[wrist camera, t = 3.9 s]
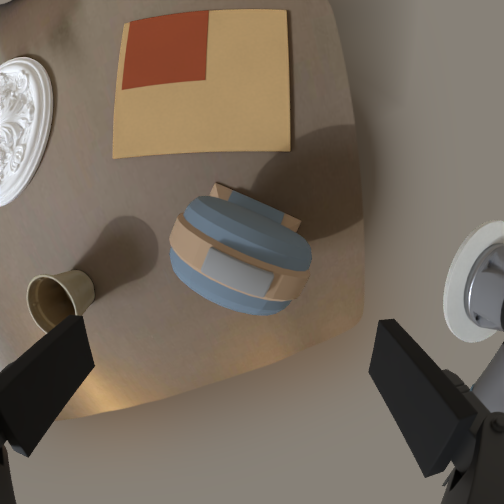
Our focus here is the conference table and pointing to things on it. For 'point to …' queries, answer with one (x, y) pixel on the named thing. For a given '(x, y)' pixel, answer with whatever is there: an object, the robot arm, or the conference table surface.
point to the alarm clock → (240, 252)
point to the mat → (203, 84)
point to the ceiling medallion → (22, 123)
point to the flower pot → (58, 297)
